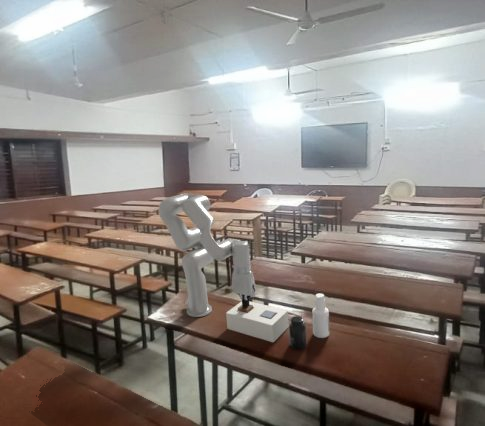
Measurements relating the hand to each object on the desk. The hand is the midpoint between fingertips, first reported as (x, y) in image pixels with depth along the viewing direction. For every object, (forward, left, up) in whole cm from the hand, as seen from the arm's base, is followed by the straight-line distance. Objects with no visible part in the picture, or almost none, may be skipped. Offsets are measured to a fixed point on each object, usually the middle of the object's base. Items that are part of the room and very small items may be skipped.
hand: (246, 306), depth 168 cm
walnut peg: (0, 0, -7) cm, 7 cm away
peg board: (+6, 0, -9) cm, 11 cm away
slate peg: (+12, 0, -7) cm, 14 cm away
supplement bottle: (+28, -4, -9) cm, 30 cm away
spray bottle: (+33, +8, -9) cm, 35 cm away
